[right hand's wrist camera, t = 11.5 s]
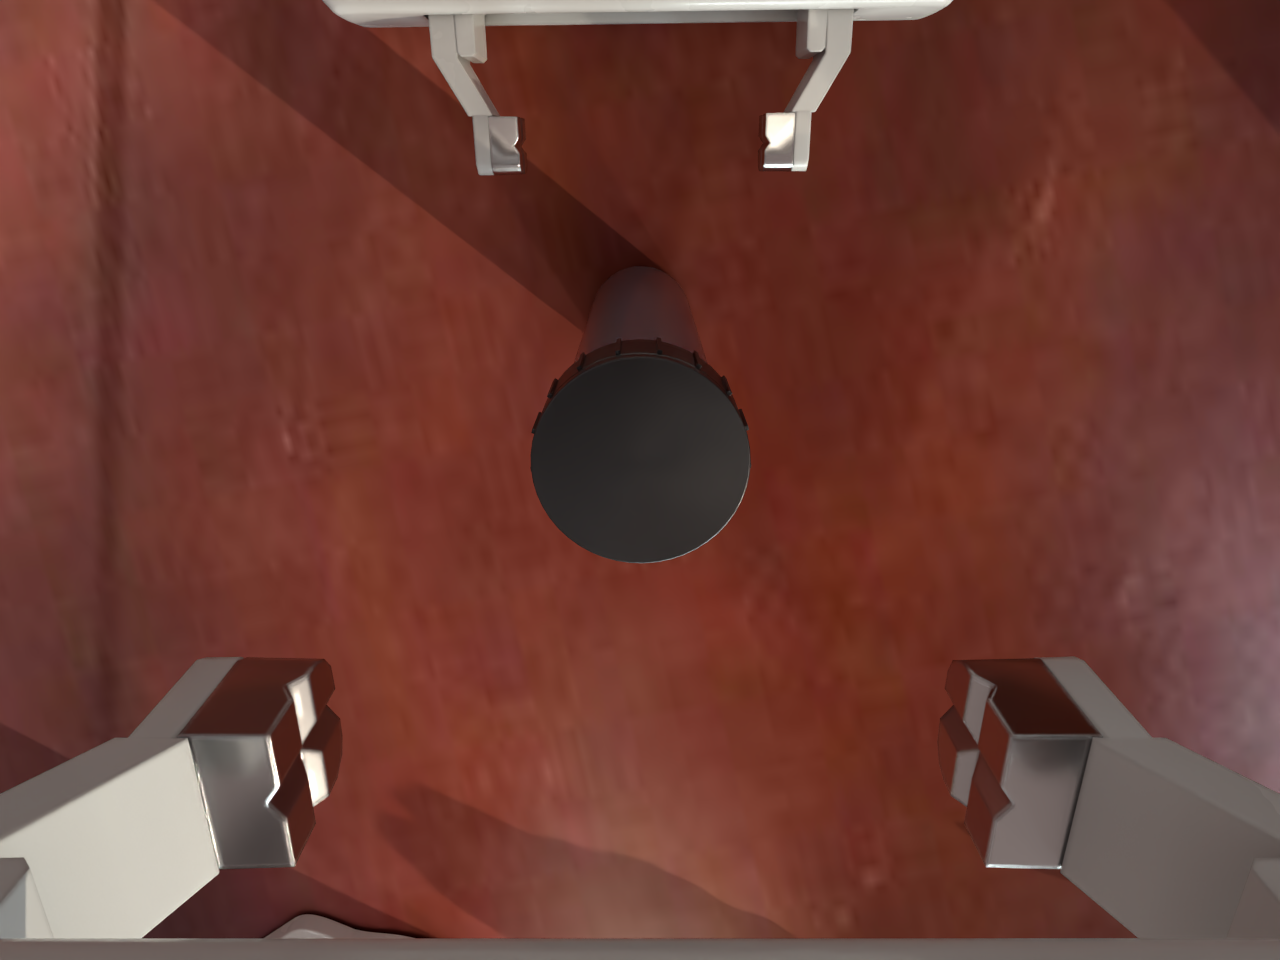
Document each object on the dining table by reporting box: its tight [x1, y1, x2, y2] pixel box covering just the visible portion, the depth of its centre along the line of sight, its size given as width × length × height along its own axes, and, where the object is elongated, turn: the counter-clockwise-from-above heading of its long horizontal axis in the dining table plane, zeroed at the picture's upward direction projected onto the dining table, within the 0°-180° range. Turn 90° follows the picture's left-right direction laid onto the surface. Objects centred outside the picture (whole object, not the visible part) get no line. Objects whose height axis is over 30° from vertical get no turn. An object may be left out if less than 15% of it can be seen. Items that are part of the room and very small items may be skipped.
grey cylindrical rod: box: [574, 266, 708, 364], centre depth 27 cm, size 4×4×18 cm
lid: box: [531, 337, 751, 563], centre depth 19 cm, size 5×5×2 cm
